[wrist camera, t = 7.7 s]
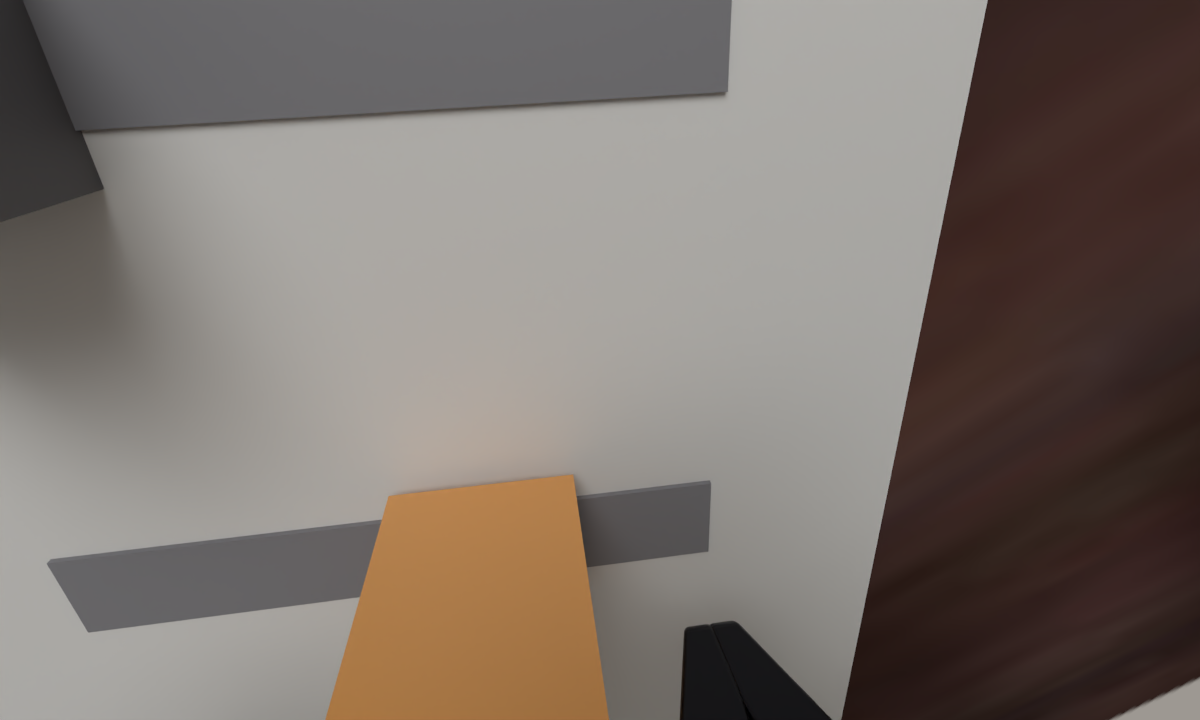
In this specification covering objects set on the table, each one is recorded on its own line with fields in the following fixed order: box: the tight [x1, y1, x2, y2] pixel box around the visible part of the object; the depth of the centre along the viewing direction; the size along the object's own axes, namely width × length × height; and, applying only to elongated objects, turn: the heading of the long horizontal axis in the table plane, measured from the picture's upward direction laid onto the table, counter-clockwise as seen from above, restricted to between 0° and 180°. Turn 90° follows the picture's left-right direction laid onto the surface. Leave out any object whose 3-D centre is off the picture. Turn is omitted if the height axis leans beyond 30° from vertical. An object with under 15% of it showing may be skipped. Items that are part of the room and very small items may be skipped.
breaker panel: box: [0, 0, 988, 720], centre depth 10 cm, size 18×22×7 cm
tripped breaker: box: [325, 475, 609, 720], centre depth 8 cm, size 3×3×5 cm
